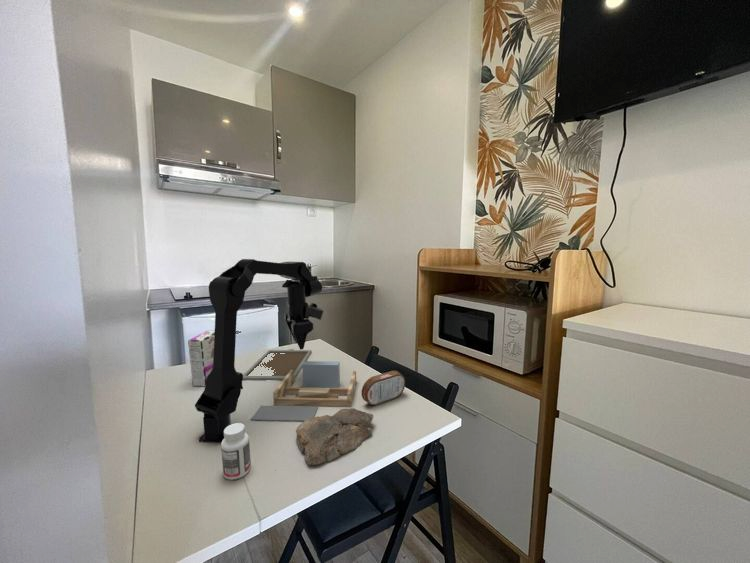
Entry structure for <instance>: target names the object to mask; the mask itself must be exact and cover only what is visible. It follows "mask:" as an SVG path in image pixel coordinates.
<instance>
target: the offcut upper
mask: <svg viewBox="0 0 750 563" xmlns="http://www.w3.org/2000/svg"><path fill="white" fill-rule="evenodd" d="M329 394H330V391H329V388H301V389H300V390H299V392H298V395H299V397H305V398H328V396H329Z"/></svg>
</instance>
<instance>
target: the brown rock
mask: <svg viewBox="0 0 750 563" xmlns="http://www.w3.org/2000/svg"><path fill="white" fill-rule="evenodd" d="M373 420H374V414H373V413H370V412H365V411H362V410H360V409H356V408H354V407H353V408H352V407H350V408H341V409H339V410H337V412H336V413H334V414H333V415H328V414H325V415H321V416H314V417H313V418H310V419H308V420H305V421H304V422H301V423H300V424H299V425H298V426H297V427H296V429H295V434H296V444H297V446H298V448H299V449H298V450H299V451H300V452H301V453H302V454H304V456H303V457H304V458H303V459H304V460H305V462H306V464H307V465H308V466H309V467H312V466H313V467H314V465H315V466H317V465H322V464H324V463H326V462H327V463H328V462H329V463H330V462H331V461H333V459H334V460H336V459H338V458H339V457H340V455H343V454H346V453H348V452H349V453H350V452H351V451H354V450H356V449H358V448H359V447H360V446H361V444H362V442H364V441H366V439H367V438H369V437H370V436H371V434H372V431H373V430H372V427H371V423H372V421H373ZM303 452H304V453H303Z"/></svg>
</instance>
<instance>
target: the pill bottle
mask: <svg viewBox="0 0 750 563" xmlns="http://www.w3.org/2000/svg"><path fill="white" fill-rule="evenodd" d="M220 443H221V445H220V448H221V451H220V452H221V460H222V463H221V464H222V471H223V472H222V474H223V477H224V478H225V479H226V480H231V481H232V480H233V479H234V480H238V479H240V478H243V477H244V476H245V475H247V474H249V473H248V472H249V471H250V469H251V466H252V462H251V460H252V459H251V449H250V436H249V435H248V433H246V428H245V424H243V423H241V422H236V423H231V425H229V426H228V427H226V428H225V429H224V439H223V441H222V442H220Z"/></svg>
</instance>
